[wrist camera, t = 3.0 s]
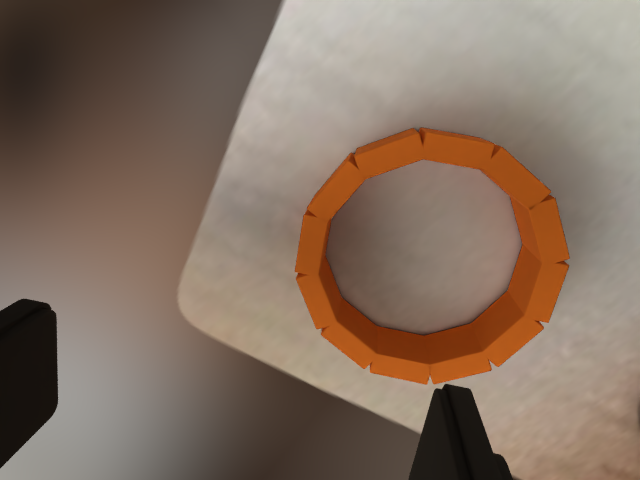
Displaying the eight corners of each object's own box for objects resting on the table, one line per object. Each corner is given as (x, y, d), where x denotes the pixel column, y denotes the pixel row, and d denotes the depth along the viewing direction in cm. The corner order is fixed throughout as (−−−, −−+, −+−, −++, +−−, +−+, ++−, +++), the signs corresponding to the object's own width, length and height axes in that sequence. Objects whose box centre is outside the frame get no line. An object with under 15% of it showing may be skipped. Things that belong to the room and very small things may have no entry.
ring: (577, 154, 22) (607, 163, 19) (503, 370, 26) (519, 404, 23) (326, 110, 23) (319, 112, 20) (291, 327, 27) (281, 354, 24)
